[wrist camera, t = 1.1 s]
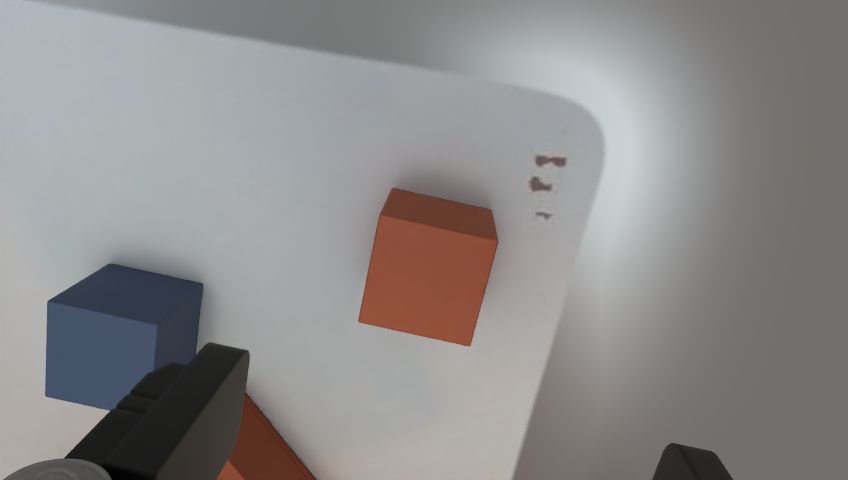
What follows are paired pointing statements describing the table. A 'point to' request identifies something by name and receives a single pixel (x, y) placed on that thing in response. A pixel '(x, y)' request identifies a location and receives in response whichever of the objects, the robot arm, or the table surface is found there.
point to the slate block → (117, 333)
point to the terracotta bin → (261, 451)
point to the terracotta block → (429, 267)
